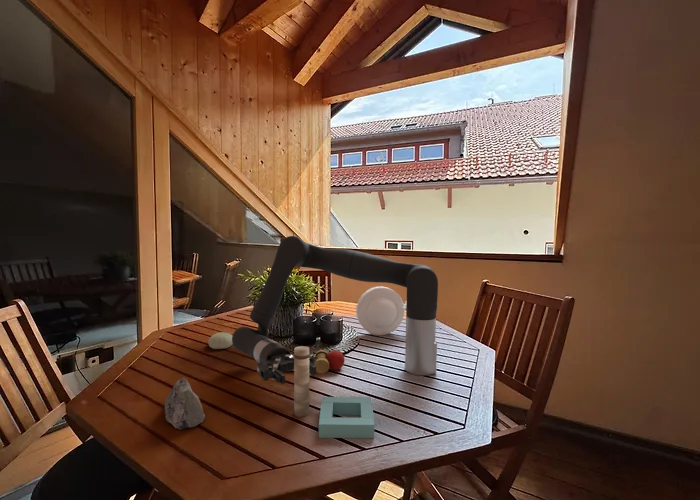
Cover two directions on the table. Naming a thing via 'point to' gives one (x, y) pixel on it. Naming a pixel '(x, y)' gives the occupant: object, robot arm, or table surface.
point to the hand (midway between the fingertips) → (299, 375)
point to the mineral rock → (183, 406)
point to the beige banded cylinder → (301, 381)
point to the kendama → (328, 361)
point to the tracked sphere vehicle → (380, 310)
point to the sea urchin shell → (220, 340)
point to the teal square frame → (346, 426)
